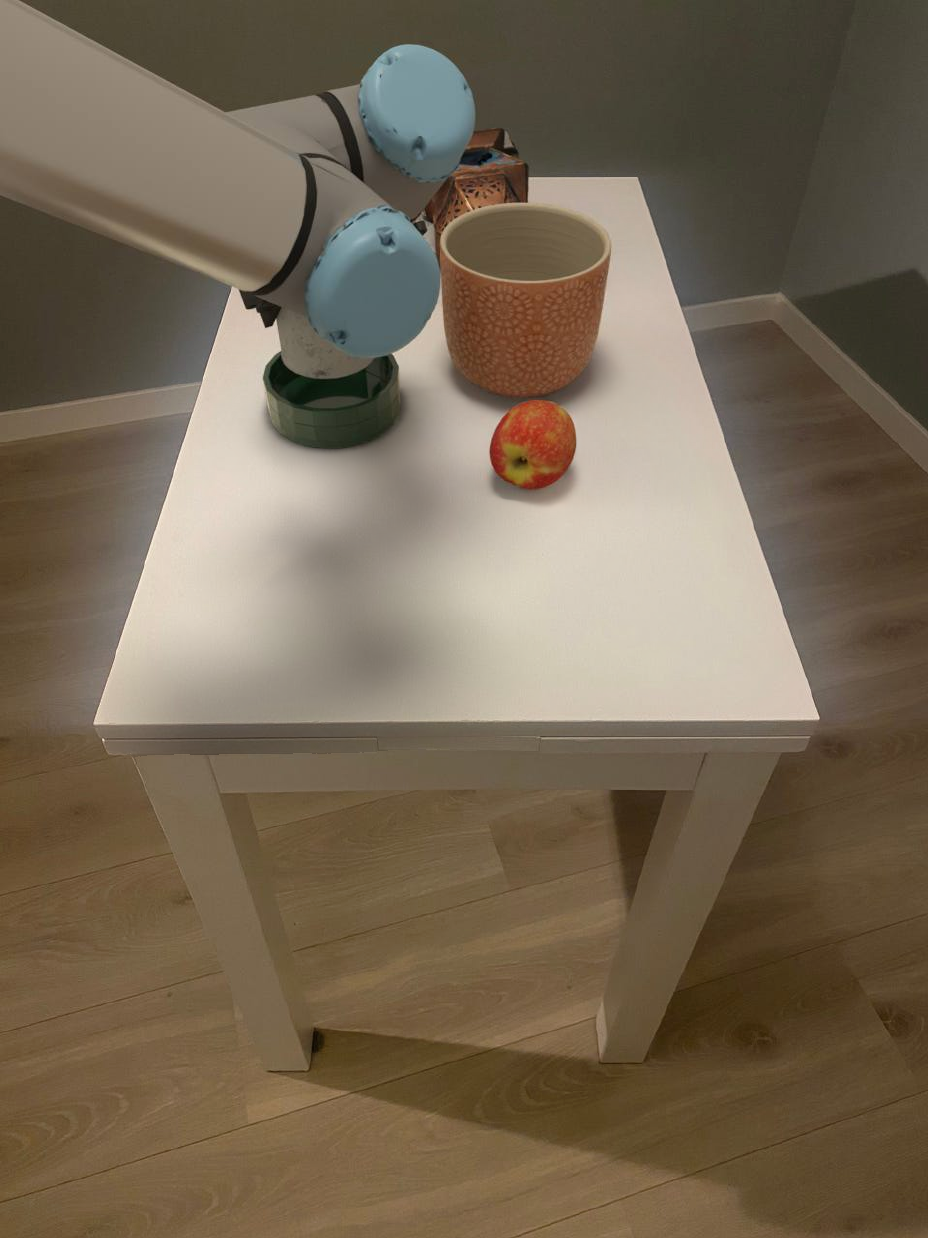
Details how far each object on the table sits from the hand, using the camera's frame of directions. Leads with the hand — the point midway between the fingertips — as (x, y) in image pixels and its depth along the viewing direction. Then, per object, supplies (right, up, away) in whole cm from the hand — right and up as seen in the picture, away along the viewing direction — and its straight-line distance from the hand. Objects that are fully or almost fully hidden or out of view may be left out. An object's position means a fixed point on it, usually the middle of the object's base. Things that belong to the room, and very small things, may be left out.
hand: (312, 300), depth 93 cm
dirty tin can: (+1, -5, +1) cm, 5 cm away
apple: (+22, -18, -1) cm, 28 cm away
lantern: (+16, +16, +29) cm, 37 cm away
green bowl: (+1, -9, +6) cm, 11 cm away
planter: (+21, -4, +11) cm, 24 cm away
